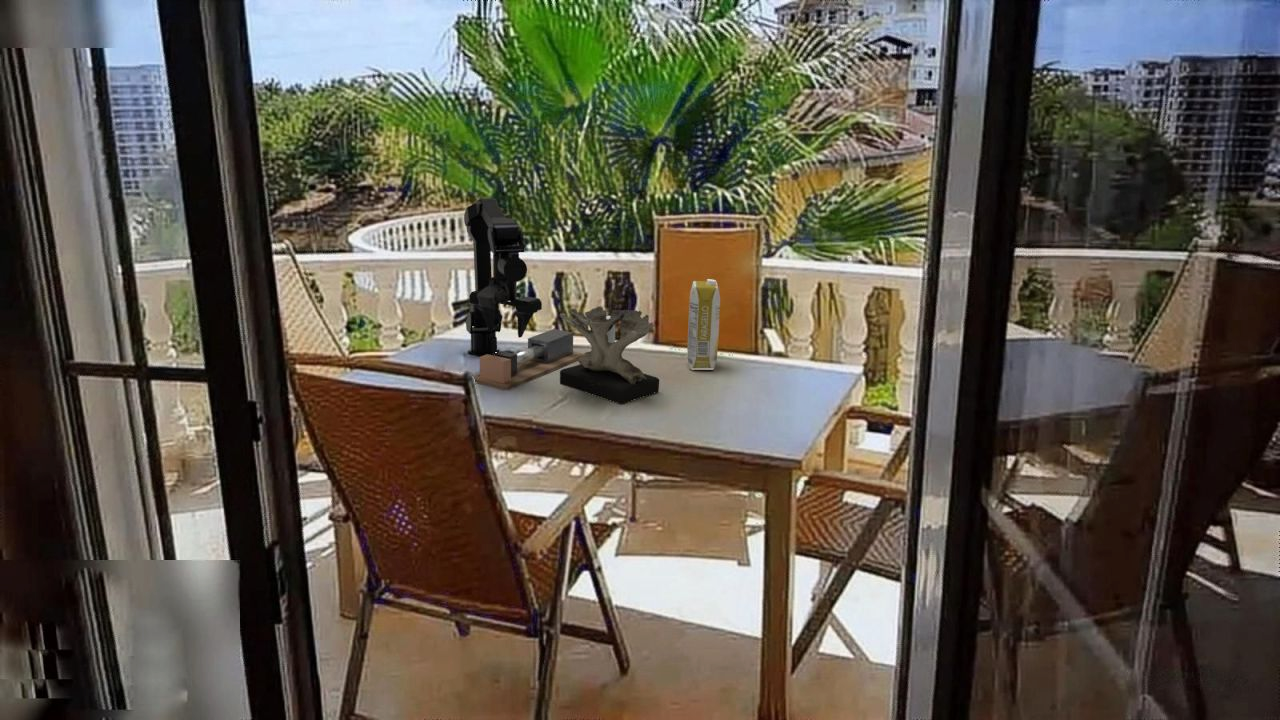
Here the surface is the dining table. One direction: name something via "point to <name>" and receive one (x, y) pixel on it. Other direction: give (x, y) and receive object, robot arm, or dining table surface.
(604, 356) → the coral
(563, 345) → the sleeve
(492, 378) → the reddish brown block
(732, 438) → the dining table surface
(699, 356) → the juice carton
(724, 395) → the dining table surface
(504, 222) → the robot arm
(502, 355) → the steel tube
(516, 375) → the walnut board
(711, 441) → the dining table surface
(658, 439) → the dining table surface
